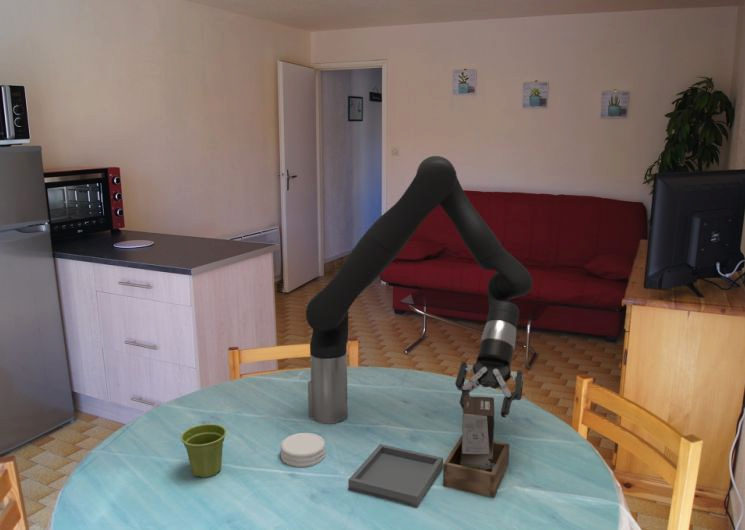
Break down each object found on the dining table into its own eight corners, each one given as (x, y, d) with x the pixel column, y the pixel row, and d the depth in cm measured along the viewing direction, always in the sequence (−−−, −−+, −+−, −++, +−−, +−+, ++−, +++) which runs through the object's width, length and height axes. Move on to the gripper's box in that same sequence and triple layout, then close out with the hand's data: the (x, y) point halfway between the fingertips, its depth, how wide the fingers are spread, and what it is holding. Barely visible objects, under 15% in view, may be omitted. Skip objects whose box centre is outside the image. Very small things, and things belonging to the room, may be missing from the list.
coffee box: (491, 488, 125) (494, 416, 121) (460, 485, 126) (461, 413, 123) (492, 464, 134) (495, 396, 130) (462, 462, 135) (464, 394, 131)
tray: (348, 489, 125) (348, 479, 124) (380, 453, 139) (380, 444, 138) (417, 507, 119) (417, 496, 118) (443, 467, 133) (443, 457, 132)
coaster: (333, 451, 140) (333, 437, 139) (309, 472, 132) (309, 457, 131) (297, 442, 145) (297, 428, 144) (272, 461, 136) (271, 447, 135)
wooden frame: (442, 485, 126) (443, 463, 125) (461, 454, 138) (462, 434, 137) (493, 497, 122) (494, 475, 121) (508, 464, 134) (509, 444, 133)
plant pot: (188, 487, 126) (185, 449, 124) (180, 466, 134) (177, 429, 132) (233, 475, 130) (231, 438, 128) (222, 455, 138) (220, 420, 137)
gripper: (463, 333, 138) (447, 400, 131) (527, 341, 133) (514, 411, 125) (469, 348, 144) (454, 412, 136) (530, 356, 139) (518, 424, 131)
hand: (483, 412), depth 131 cm, fingers open, 8 cm apart
